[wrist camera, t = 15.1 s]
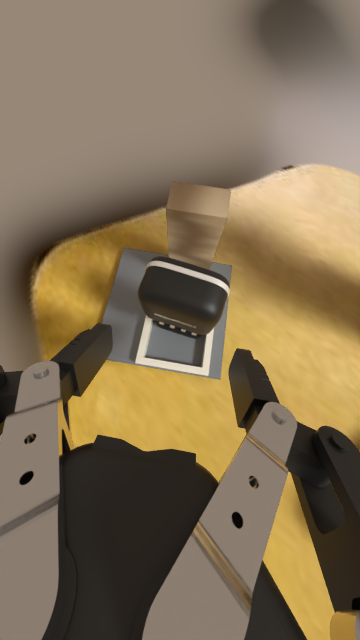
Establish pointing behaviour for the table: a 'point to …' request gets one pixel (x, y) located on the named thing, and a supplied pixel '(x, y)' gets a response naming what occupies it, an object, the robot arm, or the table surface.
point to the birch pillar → (195, 222)
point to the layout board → (152, 341)
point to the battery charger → (183, 296)
